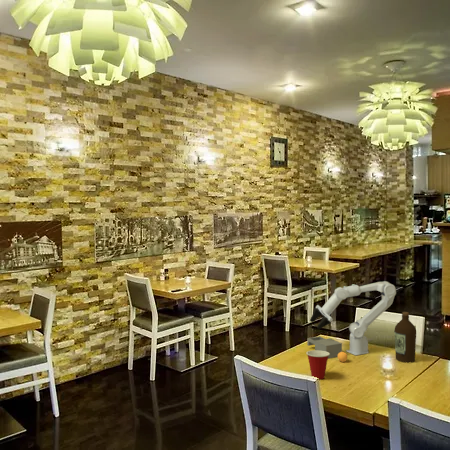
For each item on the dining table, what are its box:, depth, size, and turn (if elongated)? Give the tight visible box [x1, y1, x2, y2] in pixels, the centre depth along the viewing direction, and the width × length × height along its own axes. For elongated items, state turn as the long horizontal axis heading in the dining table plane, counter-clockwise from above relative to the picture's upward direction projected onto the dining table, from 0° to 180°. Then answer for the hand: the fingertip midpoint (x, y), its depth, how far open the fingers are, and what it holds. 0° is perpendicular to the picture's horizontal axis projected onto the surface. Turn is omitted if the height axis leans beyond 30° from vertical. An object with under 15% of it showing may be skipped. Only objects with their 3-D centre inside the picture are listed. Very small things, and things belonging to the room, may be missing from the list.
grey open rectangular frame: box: [306, 336, 343, 359], centre depth 244 cm, size 10×19×7 cm, turn 24°
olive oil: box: [393, 311, 417, 364], centre depth 230 cm, size 11×11×25 cm
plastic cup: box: [305, 349, 330, 381], centre depth 208 cm, size 11×11×12 cm
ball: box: [337, 351, 348, 363], centre depth 229 cm, size 5×5×5 cm
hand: (314, 324), depth 244 cm, fingers open, 7 cm apart
